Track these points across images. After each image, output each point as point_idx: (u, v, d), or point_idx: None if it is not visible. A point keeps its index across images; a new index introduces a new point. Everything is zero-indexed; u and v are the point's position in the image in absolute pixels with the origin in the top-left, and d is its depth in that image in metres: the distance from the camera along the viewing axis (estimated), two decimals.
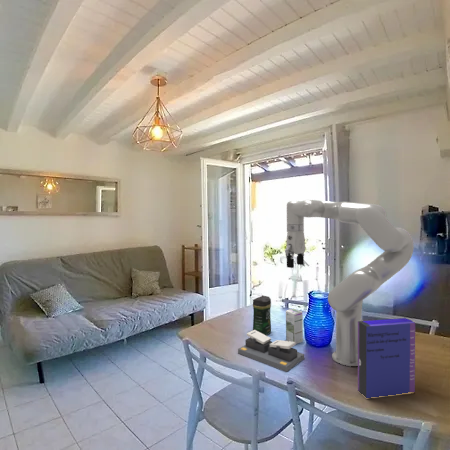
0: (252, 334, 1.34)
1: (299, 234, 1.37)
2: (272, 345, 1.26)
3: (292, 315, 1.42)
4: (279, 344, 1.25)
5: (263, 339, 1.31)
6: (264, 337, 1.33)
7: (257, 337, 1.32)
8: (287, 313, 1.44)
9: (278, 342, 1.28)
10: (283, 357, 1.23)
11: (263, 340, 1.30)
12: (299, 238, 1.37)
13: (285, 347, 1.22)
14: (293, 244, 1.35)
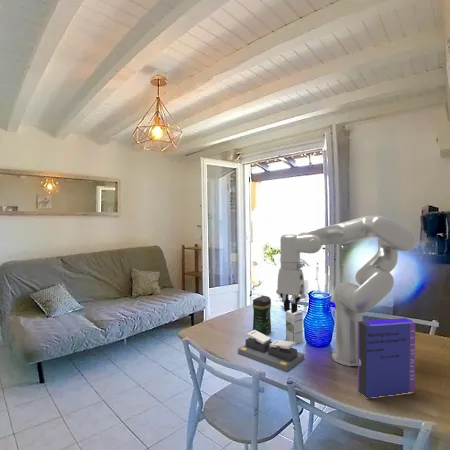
0: (252, 334, 1.34)
1: None
2: (272, 345, 1.26)
3: (292, 315, 1.42)
4: (279, 344, 1.25)
5: (263, 339, 1.31)
6: (264, 337, 1.33)
7: (257, 337, 1.32)
8: (287, 313, 1.44)
9: (278, 342, 1.28)
10: (283, 357, 1.23)
11: (263, 340, 1.30)
12: None
13: (285, 347, 1.22)
14: (303, 283, 1.21)
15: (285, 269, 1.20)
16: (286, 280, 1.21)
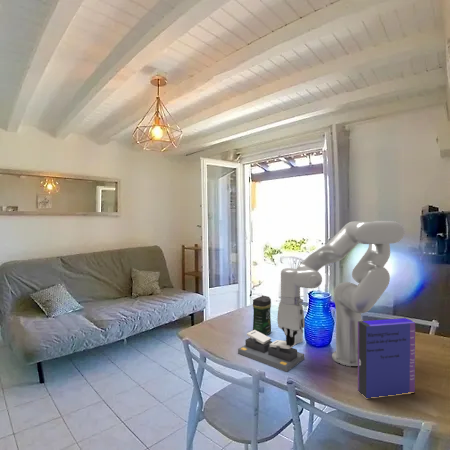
0: (252, 334, 1.34)
1: None
2: (272, 345, 1.26)
3: None
4: (279, 344, 1.25)
5: (263, 339, 1.31)
6: (264, 337, 1.33)
7: (257, 337, 1.32)
8: None
9: (278, 342, 1.28)
10: (283, 357, 1.23)
11: (263, 340, 1.30)
12: None
13: (285, 347, 1.22)
14: (303, 317, 1.21)
15: (285, 304, 1.20)
16: (286, 315, 1.21)
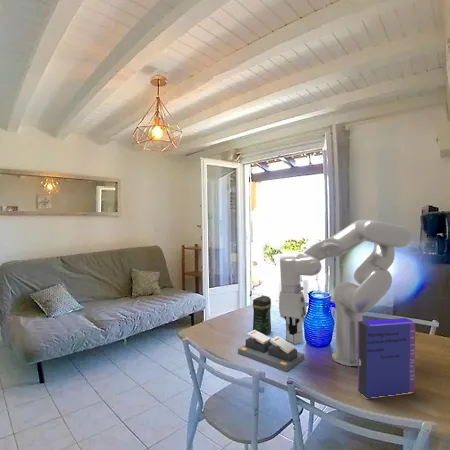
0: (252, 334, 1.34)
1: None
2: (272, 342, 1.26)
3: None
4: (279, 344, 1.25)
5: (263, 339, 1.31)
6: (264, 337, 1.33)
7: (257, 337, 1.32)
8: None
9: (279, 340, 1.27)
10: (283, 357, 1.23)
11: (263, 340, 1.30)
12: None
13: (285, 350, 1.22)
14: (304, 305, 1.21)
15: (286, 292, 1.20)
16: (287, 303, 1.21)
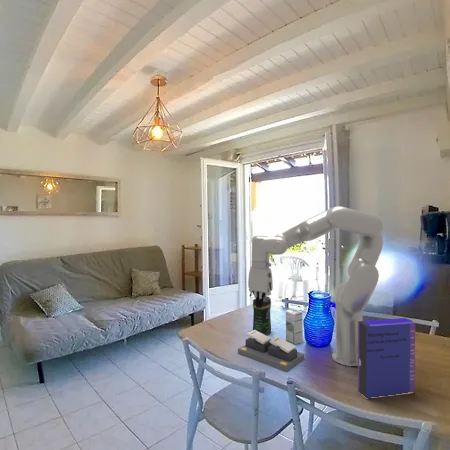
0: (252, 334, 1.34)
1: None
2: (272, 342, 1.26)
3: (292, 315, 1.42)
4: (279, 344, 1.25)
5: (263, 339, 1.31)
6: (264, 337, 1.33)
7: (257, 337, 1.32)
8: (287, 313, 1.44)
9: (278, 340, 1.27)
10: (283, 357, 1.23)
11: (263, 340, 1.30)
12: None
13: (285, 350, 1.22)
14: (271, 281, 1.30)
15: (255, 268, 1.29)
16: (255, 278, 1.31)
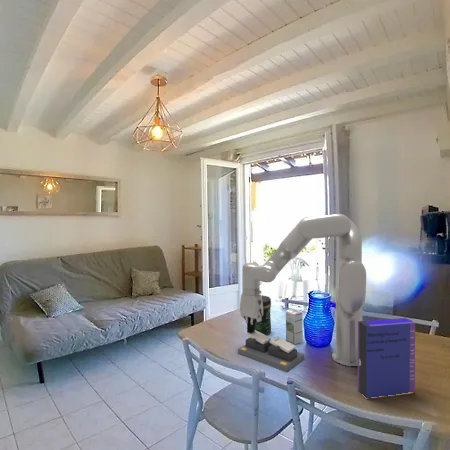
0: (252, 334, 1.34)
1: None
2: (272, 342, 1.26)
3: (292, 315, 1.42)
4: (279, 344, 1.25)
5: (263, 339, 1.31)
6: (264, 337, 1.33)
7: (257, 337, 1.32)
8: (287, 313, 1.44)
9: (278, 340, 1.27)
10: (283, 357, 1.23)
11: (263, 340, 1.30)
12: None
13: (285, 350, 1.22)
14: (262, 307, 1.34)
15: (245, 295, 1.33)
16: (246, 304, 1.35)
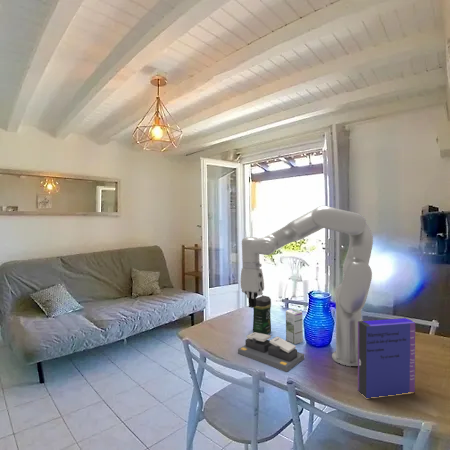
0: (252, 335, 1.35)
1: None
2: (272, 342, 1.26)
3: (292, 315, 1.42)
4: (279, 344, 1.25)
5: (263, 337, 1.31)
6: (264, 335, 1.33)
7: (257, 337, 1.33)
8: (287, 313, 1.44)
9: (278, 340, 1.27)
10: (283, 357, 1.23)
11: (263, 338, 1.31)
12: None
13: (285, 350, 1.22)
14: (262, 281, 1.34)
15: (246, 268, 1.33)
16: (247, 279, 1.34)
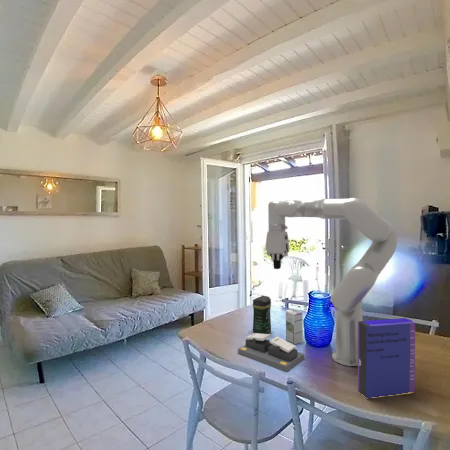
0: (252, 336, 1.35)
1: None
2: (272, 342, 1.26)
3: (292, 315, 1.42)
4: (279, 344, 1.25)
5: (263, 336, 1.31)
6: (264, 335, 1.33)
7: (257, 336, 1.33)
8: (287, 313, 1.44)
9: (278, 340, 1.27)
10: (283, 357, 1.23)
11: (263, 337, 1.31)
12: None
13: (285, 350, 1.22)
14: (288, 243, 1.38)
15: (272, 230, 1.37)
16: (273, 241, 1.39)
